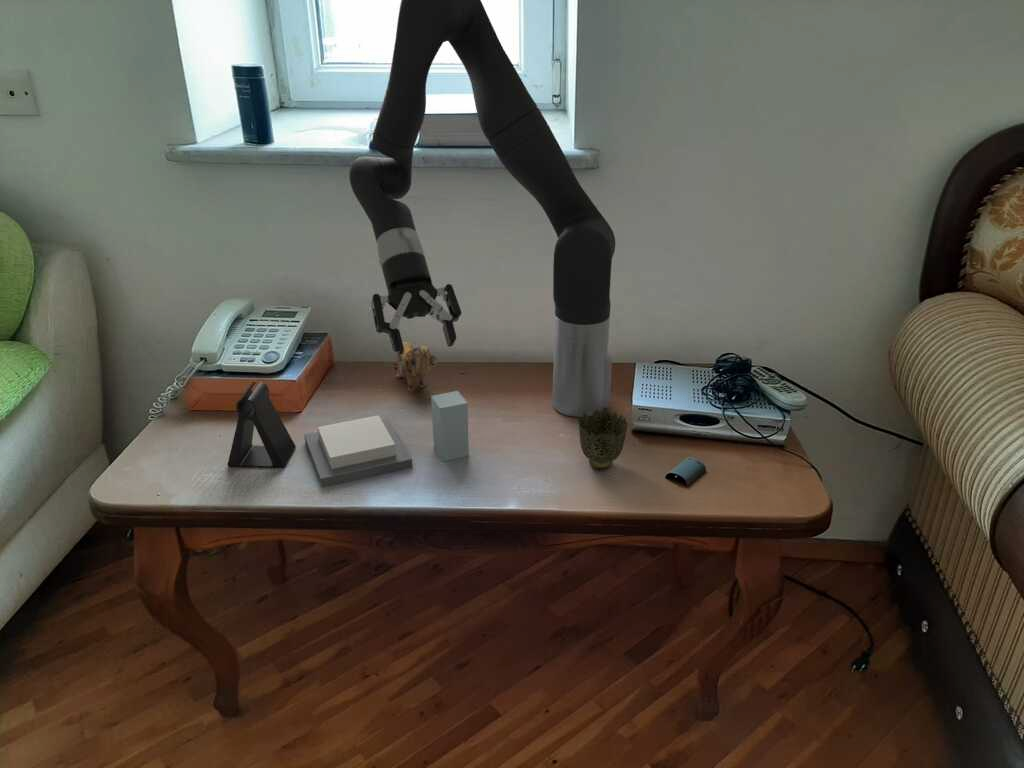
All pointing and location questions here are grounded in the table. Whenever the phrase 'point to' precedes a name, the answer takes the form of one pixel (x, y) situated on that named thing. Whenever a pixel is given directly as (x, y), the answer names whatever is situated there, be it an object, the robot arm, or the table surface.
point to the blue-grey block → (450, 425)
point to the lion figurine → (415, 363)
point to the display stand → (356, 450)
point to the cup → (602, 437)
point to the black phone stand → (270, 429)
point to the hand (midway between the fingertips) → (426, 348)
